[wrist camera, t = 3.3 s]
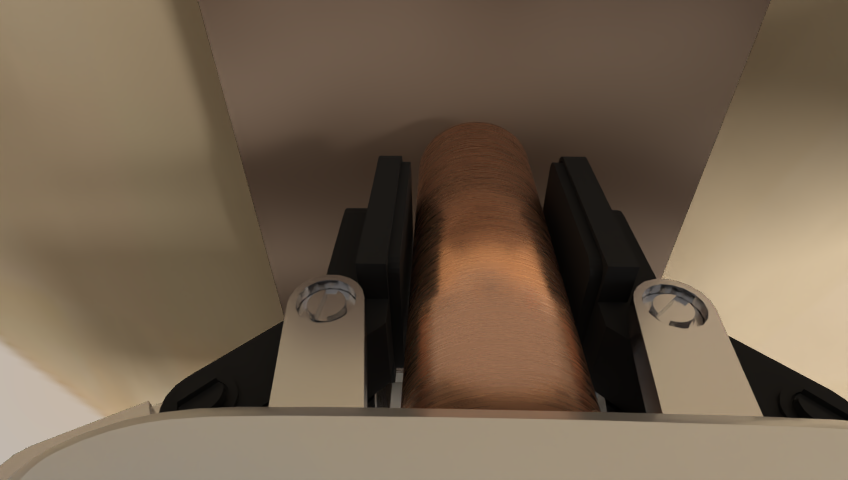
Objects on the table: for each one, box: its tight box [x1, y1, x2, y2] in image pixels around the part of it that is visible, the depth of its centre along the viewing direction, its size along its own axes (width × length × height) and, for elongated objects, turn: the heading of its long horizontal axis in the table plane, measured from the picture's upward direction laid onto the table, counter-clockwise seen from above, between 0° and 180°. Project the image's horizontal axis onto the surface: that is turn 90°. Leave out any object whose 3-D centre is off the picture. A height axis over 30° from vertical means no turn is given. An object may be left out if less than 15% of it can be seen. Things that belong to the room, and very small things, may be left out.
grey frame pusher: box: [376, 122, 601, 412], centre depth 14 cm, size 15×7×10 cm, turn 1°
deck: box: [198, 0, 771, 408], centre depth 19 cm, size 35×14×2 cm, turn 1°
